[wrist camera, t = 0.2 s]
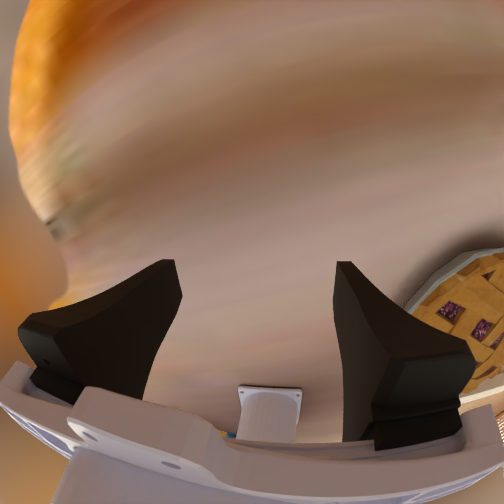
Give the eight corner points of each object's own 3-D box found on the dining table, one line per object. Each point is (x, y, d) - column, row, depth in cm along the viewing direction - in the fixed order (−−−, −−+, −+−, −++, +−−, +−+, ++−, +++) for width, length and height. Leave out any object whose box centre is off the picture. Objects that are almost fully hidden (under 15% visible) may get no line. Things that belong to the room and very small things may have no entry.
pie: (453, 193, 18) (485, 215, 14) (547, 272, 19) (567, 295, 14) (337, 366, 29) (340, 402, 24) (454, 388, 29) (462, 413, 25)
